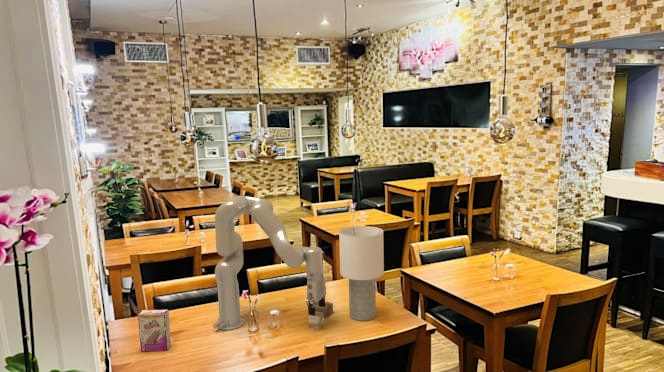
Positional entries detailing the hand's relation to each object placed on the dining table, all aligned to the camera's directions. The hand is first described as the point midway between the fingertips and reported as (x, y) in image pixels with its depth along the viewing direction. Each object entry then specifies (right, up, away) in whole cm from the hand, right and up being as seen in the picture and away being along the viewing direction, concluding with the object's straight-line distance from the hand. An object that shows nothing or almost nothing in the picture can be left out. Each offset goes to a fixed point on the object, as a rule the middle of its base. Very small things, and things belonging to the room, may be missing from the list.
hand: (317, 310), depth 204 cm
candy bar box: (-67, -12, -15) cm, 70 cm away
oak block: (0, -8, +1) cm, 8 cm away
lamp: (+21, -6, +11) cm, 25 cm away
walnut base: (+2, -6, +14) cm, 16 cm away
